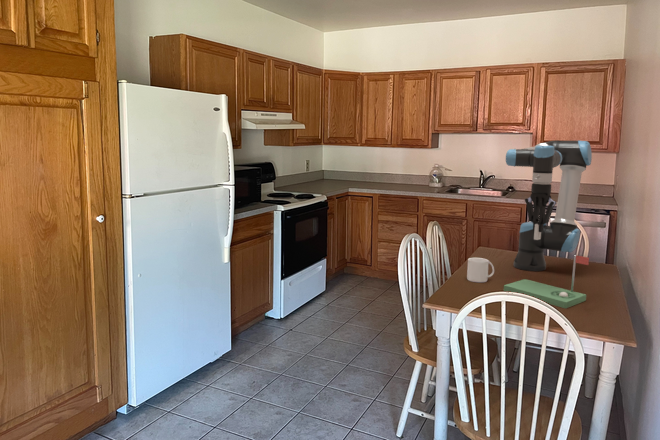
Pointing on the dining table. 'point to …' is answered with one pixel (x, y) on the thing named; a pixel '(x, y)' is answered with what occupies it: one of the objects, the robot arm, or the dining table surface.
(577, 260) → the flag pin
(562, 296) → the ball
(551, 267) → the dining table surface
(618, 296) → the dining table surface
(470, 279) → the mug
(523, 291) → the green
